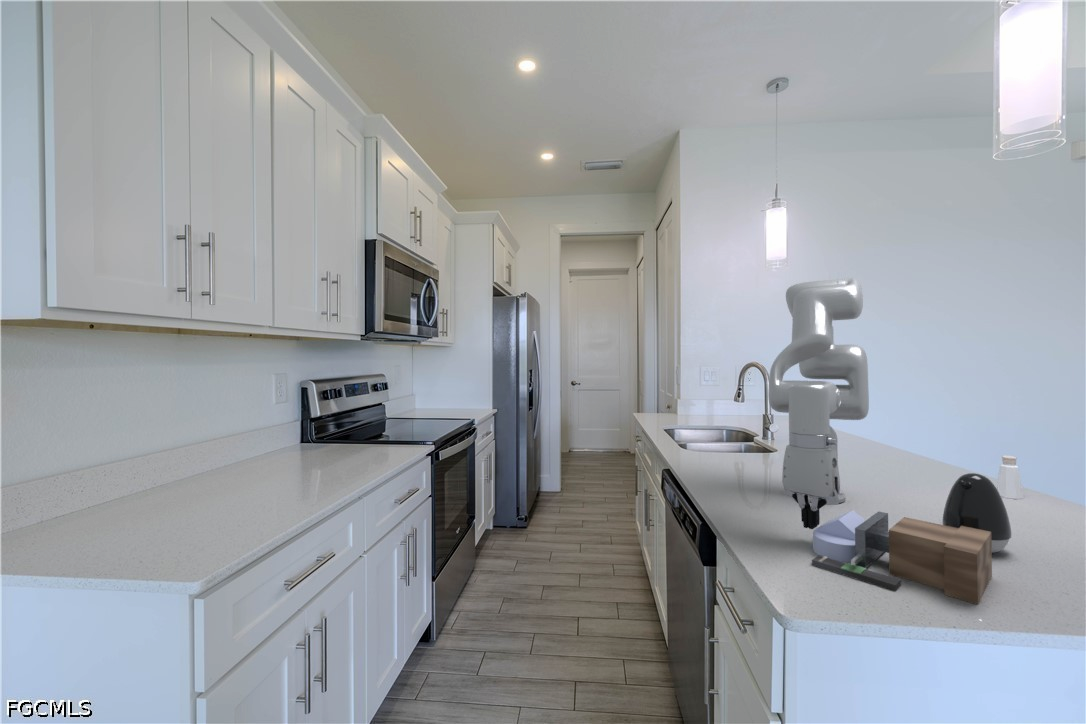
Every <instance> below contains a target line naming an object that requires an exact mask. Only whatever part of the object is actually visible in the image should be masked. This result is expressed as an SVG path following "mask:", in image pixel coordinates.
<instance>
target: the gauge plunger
mask: <svg viewBox="0 0 1086 724" xmlns="http://www.w3.org/2000/svg"><path fill="white" fill-rule="evenodd" d="M883 553H887V554H889V513H888V512H883V511H877V512H875V513H874V514H873V515H871V516H870V517H869V518H867V519H866V520H865V521H864V522H863V523H862V524H860V525H859V526H858V527H856V528H855V557H854V558H853V559H851V563H850V564H851V565H857V566H860V567H864V568H866V569H868V567H869V566H870V565H871V564H872V563H873V562H875V561H876V559H878V558H880V556H881V555H882V554H883Z"/></svg>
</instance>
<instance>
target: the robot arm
mask: <svg viewBox="0 0 1086 724" xmlns="http://www.w3.org/2000/svg"><path fill="white" fill-rule="evenodd" d="M862 289H863V288H862V285H861V283H860V282H859V280H858V279H857V278H854V277H853V278H852V277H851V278H849V277H847V278H846V277H845V278H838V279H829V280H828V279H827V280H826V279H825V280H814V281H806V282H805V281H804V282H800V283H799V282H798V283H795V284H793V285H791V286H788V288H787V289H786V291H785V301H786V305H787V309H788V311H789V313H790V315H791V317H792V328H791V329H792V330H791V342H790V344H788V345H787V346H786V347H785V348H783V349H782V350H781V352H779V354H778V355H777V356H776V358H775V359H774V361H773V362H772V365H771V367H770V371H769V378H768V379H769V381H768V403H769V405H770V408H771V409H773V410H774V411H775V412H778V413H783V414H784V413H786V414H788V443H789V444H787V445H786V446H785V450H784V456H783V462H782V474H781V475H782V478H781V479H782V480H781V481H782V482H781V483H782V487H783V489H782V493H783V494H784V495H786V496H788V497H790V498H793V500H794V501H795V502H796V503H797V504H798V507H799V508H800V509H801V511H800V512H801V513H800V514H801V522H802V523H803V528H805V529H809V530H815V528H818V526H819V525H820V509H822V508H823V507H825V505H826V506H833V505H834V506H835V505H838V504H841V503H844V502H845V501H846V495H844V493H842V492H841V480H840V479H841V478H840V477H841V476H840V470H839V462H838V461H839V460H838V458H839V457H838V455H839V454H838V435H837V432H836V431H835V429H834V428H833V427H832V426H831V424H830V420H843V421H861V420H865V418H867V416H868V414H869V408H870V404H869V403H870V396H869V395H870V393H869V365H868V364H869V363H868V357H867V353H866V351H865V349H864V348H863V347H862V346H860V345H858V344H835V340H834V338H835V337H834V326H833V322H834V321H846V320H847V321H850V320H855V319H857V318H859V317H860V316H861V314H862V311H863V308H864V307H863V306H864V298H863V297H864V296H863V290H862ZM796 365H798V368H799V373H800V375H801V376H802V377H804V378H805V379H810V380H784V375H785V373H786V372H787V371H788V370H790V369H791V368H792V367H794V366H796ZM825 380H844V381H846V382H847V383H848V384H835V383H833V382H830V381H825Z"/></svg>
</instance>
